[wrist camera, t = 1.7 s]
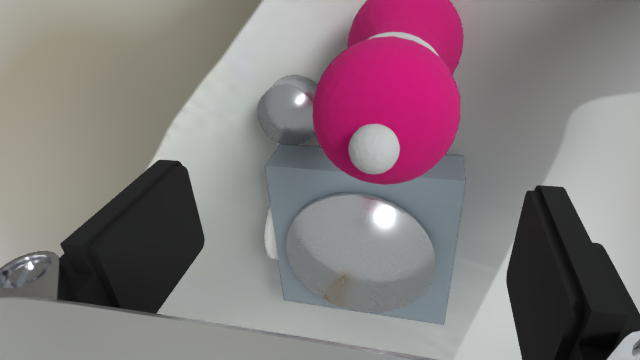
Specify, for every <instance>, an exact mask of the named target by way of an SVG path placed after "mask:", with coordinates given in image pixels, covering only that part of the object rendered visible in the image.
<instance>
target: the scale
mask: <svg viewBox="0 0 640 360" xmlns="http://www.w3.org/2000/svg"><path fill="white" fill-rule="evenodd" d="M265 171H266V178H267V185H268V192H269V199H270V208H269V211H268V214H267V218H266V223H265V232H264V244H265V250H266V254H267V256H268V257H269V258H270V259H276V260H278V262H279V269H280V276H281V283H282V290H283V297H284V300H286V301H293V302H299V303H306V304H312V305H319V306H325V307H332V308H338V309H345V310H349V309H346V308H342V307H339V306H337V305H334V304H332V303H330V302H328V301H326V300H324V299H322V298H321V297H319V296H317V295H316V294H315V293H313V292H312V291H311V290H310V289H308V288H307V287H306V286H305V285H304V284H303V283H302V282H301V280H300V279H299V278H298V277H297V275H296V274H295V272H294V271H293V269H292V267H291V265H290V262H289V259H288V256H287V250H286V241H287V235H288V232H289V229H290V227H291V225H292V223H293V221H294V219H295V217H296V216H297V215H298V213H299V212H300V211H301V210H302V209H303V208H304V207H305V206H306V205H308V204H309V203H311V202H312V201H314V200H316V199H318V198H320V197H323V196H326V195H329V194H333V193H338V192H363V193H369V194H373V195H377V196H381V197H384V198H386V199H389V200H391V201H393V202H395V203H397V204H399V205H401V206H402V207H404V208H405V209H407V210H408V211H409V212H411V213H412V214H413V215H414V216H415V217H416V218H417V219H418V220H419V221H420V222H421V223H422V224H423V225H424V227H425V228H426V230H427V231H428V233H429V235H430V237H431V239H432V242H433V245H434V248H435V255H436V256H435V273H434V277H433V279H432V282H431V284H430V286H429V287H428V289H427V290H426V291H425V292H424V293H423V295H422V296H420V297H419V298H418V299H417V300H415V301H414V302H412V303H410V304H409V305H406V306H404V307H402V308H399V309H395V310H391V311H386V312H364V313H371V314H377V315H384V316H390V317H397V318H403V319H410V320H416V321H423V322H430V323H436V324H443V325H444V322H445V316H446V309H447V302H448V296H449V289H450V282H451V276H452V269H453V262H454V256H455V249H456V242H457V236H458V229H459V222H460V215H461V209H462V202H463V195H464V189H465V182H466V179H465V169H464V159H463V156H456V155H445V156H444V157H443V158H442V159H441V160H440V161H439V162H438V163H437V164H436V165H435V166H434V167H433V168H431V169H430V170H429V171H427V172H426V173H424V174H423V175H421V176H419V177H417V178H415V179H413V180H411V181H407V182H403V183H399V184H388V185H382V184H374V183H369V182H365V181H361V180H359V179H356V178H354V177H352V176H350V175H348V174H346V173H345V172H343V171H341V170H340V169H339V168H337V167H336V166H335V165H334V164H333V163H332V162H331V161H330V160H329V158H328V157H327V156H326V155H325V153H324V152H323V150H322V148H321V147H310V146H294V145H279V147H278V148H277V150H276V151H275V152H274V154H273V155H272V157H271V158H270V159H269V161H268V162H267V164H266V165H265ZM351 311H354V310H351ZM358 312H360V311H358Z"/></svg>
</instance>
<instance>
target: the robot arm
mask: <svg viewBox="0 0 640 360" xmlns="http://www.w3.org/2000/svg"><path fill="white" fill-rule="evenodd" d="M60 245H61V247H62V249H63V251H64V253H65V254H63V255H62V256H61V257H60V258H59V257H58V255H56V254H55V253H54V252H49V251H38V252H33V253H29V254H26V255H23V256H20V257H18V258H16V259H14V260H12V261H10V262H9V263H7V264H6V265H4V266H3V267H2V268H0V360H436V359H431V358H425V357H419V356H413V355H407V354H401V353H395V352H389V351H383V350H377V349H371V348H365V347H359V346H353V345H347V344H341V343H335V342H329V341H323V340H317V339H311V338H305V337H299V336H292V335H286V334H280V333H274V332H268V331H262V330H255V329H249V328H243V327H237V326H230V325H224V324H218V323H212V322H205V321H199V320H192V319H186V318H180V317H173V316H167V315H160V314H156V313H157V312H158V310H159V309H160V307H161V306H162V305H163V303H164V302H165V300H166V299H167V298H168V296H169V295H170V293H171V292H172V291H173V289H174V288H175V286H176V285H177V284H178V282H179V281H180V279H181V278H182V277H183V275H184V274H185V272H186V271H187V270H188V268H189V267H190V265H191V264H192V263H193V261H194V260H195V258H196V257H197V256H198V254H199V253H200V251H201V250H202V248H203V246H204V234H203V230H202V226H201V222H200V218H199V214H198V210H197V206H196V202H195V198H194V194H193V190H192V186H191V182H190V178H189V174H188V171H187V168H186V167H184V166H182V164H181V162H179V161H171V160H159V161H157V162H156V163H155V164H153V165H152V166H151V167H150V168H149V169H147V170H146V171H145V172H144V173H143V174H142V175H140V176H139V177H138V178H137V179H136V180H135V181H133V182H132V183H131V184H130V185H129V186H128V187H126V188H125V189H124V190H123V191H122V192H120V193H119V194H118V195H117V196H116V197H115V198H113V199H112V200H111V201H110V202H109V203H108V204H106V205H105V206H104V207H103V208H102V209H101V210H99V211H98V212H97V213H96V214H95V215H94V216H92V217H91V218H90V219H89V220H88V221H86V222H85V223H84V224H83V225H82V226H81V227H79V228H78V229H77V230H76V231H75V232H74V233H72V234H71V235H70V236H69V237H68V238H67V239H65V240H64V241H63V242H62V243H61V244H60ZM507 288H508V293H509V297H510V302H511V307H512V312H513V317H514V321H515V326H516V331H517V335H518V341H519V346H520V350H521V355H522V360H640V314H639V312H638V310H637V308H636V306H635V304H634V302H633V300H632V299H631V297H630V295H629V293H628V291H627V289H626V288H625V286H624V284H623V282H622V280H621V278H620V276H619V274H618V273H617V271H616V269H615V267H614V265H613V263H612V261H611V259H610V258H609V256H608V254H607V252H606V250H605V249H604V247H603V246H602V245H601V244H598V243H592V242H591V240H590V238H589V236H588V234H587V232H586V230H585V228H584V226H583V224H582V222H581V220H580V218H579V216H578V214H577V212H576V210H575V208H574V206H573V204H572V202H571V200H570V198H569V196H568V194H567V192H566V190H565V189H564V188H563V187H554V186H540V185H538V186H536V188H535V190H534V191H527V192H526V195H525V199H524V203H523V207H522V211H521V216H520V220H519V224H518V228H517V232H516V236H515V241H514V245H513V249H512V254H511V257H510V262H509V266H508V270H507Z"/></svg>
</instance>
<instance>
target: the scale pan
mask: <svg viewBox="0 0 640 360" xmlns="http://www.w3.org/2000/svg"><path fill="white" fill-rule="evenodd" d="M286 250H287V256H288V259H289V262H290V265H291V267H292V269H293V271H294V272H295V274H296V275H297V277H298V278H299V279H300V280H301V282H302V283H303V284H304V285H305V286H306V287H307V288H308V289H310V290H311V291H312V292H313V293H315V294H316V295H317V296H319V297H321V298H322V299H324V300H326V301H328V302H330V303H332V304H334V305H337V306H339V307H342V308H346V309H349V310H354V311H360V312H386V311H391V310H395V309H399V308H402V307H404V306H406V305H409V304H410V303H412V302H414V301H415V300H417V299H418V298H419V297H420V296H422V295H423V293H424V292H425V291H426V290H427V289H428V287H429V286H430V284H431V282H432V279H433V277H434V273H435V256H436V255H435V248H434V245H433V242H432V239H431V237H430V235H429V233H428V231H427V230H426V228H425V227H424V225H423V224H422V223H421V222H420V221H419V220H418V219H417V218H416V217H415V216H414V215H413V214H412V213H411V212H409V211H408V210H407V209H405V208H404V207H402V206H401V205H399V204H397V203H395V202H393V201H391V200H389V199H386V198H384V197H381V196H377V195H373V194H369V193H363V192H338V193H333V194H329V195H326V196H323V197H320V198H318V199H316V200H314V201H312V202H311V203H309V204H308V205H306V206H305V207H304V208H303V209H302V210H301V211H300V212H299V213H298V215H297V216H296V217H295V219H294V221H293V223H292V225H291V227H290V229H289V232H288V235H287V241H286Z"/></svg>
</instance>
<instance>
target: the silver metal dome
mask: <svg viewBox="0 0 640 360" xmlns="http://www.w3.org/2000/svg"><path fill="white" fill-rule="evenodd" d="M316 88H317V85H316V84H315V83H314V82H313V81H311V80H310V79H308V78H306V77H303V76H299V75H290V76H286V77H283V78H281V79H280V80H279V81H277V82H276V83H275V84H274V85H273V86H272V87H271V88H270V89H269V90H268V91H267V92H266V93H265V94H264V95H263V97H262V98H261V100H260V102H259V105H258V119H259V122H260V124H261V127H262V128H263V130H264V131H265V132H266V134H267V135H268V136H270V137H271V138H272V139H274V140H275V141H277V142H279V143H282V144H286V145H298V144H301V143H304V142H306V141H307V140H308V139H310V138H311V137H312V135H313V134H314V132H315V131H314V126H313V117H312V115H313V100H314V96H315V91H316Z"/></svg>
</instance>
